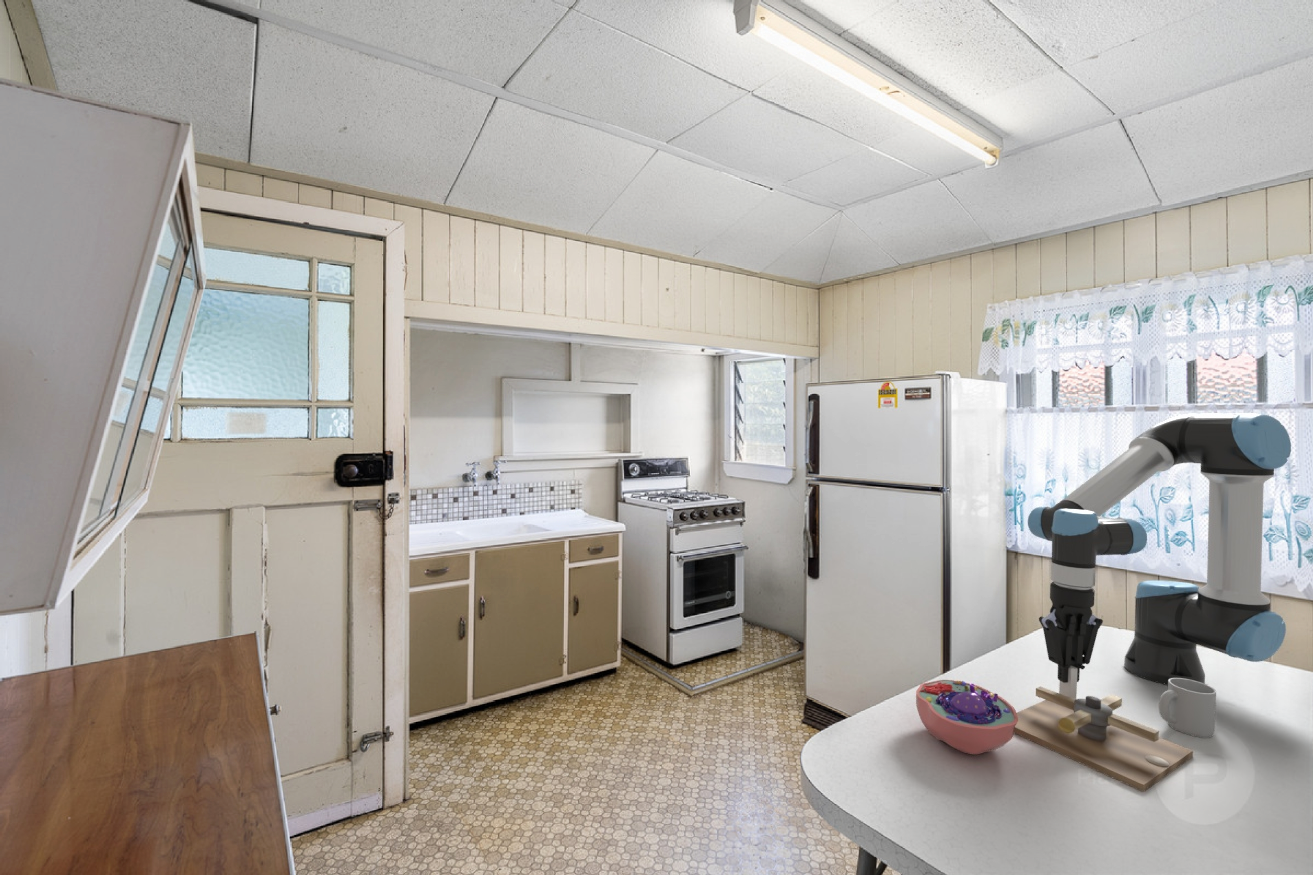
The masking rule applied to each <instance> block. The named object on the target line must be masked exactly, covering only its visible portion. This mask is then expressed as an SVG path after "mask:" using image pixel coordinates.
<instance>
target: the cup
mask: <svg viewBox="0 0 1313 875" xmlns="http://www.w3.org/2000/svg"><path fill="white" fill-rule="evenodd" d="M1158 700H1159V701H1158V711H1159V715H1160V717H1161V718H1162V720H1164V721H1165V722H1166V723H1167V724H1168V725H1169V726H1170V728H1172V729H1174V730H1175V731H1177V732H1180V733H1182V734H1186V735H1188V736H1192V737H1195V738H1203V739H1205V738H1206V739H1207V738H1211V737H1213V736H1214V735H1215V728H1216V726H1215V724H1216V706H1217V705H1216V704H1217V691H1216V689H1215V688H1214V687H1211V686H1210V685H1208V684H1206V683H1205V684H1203V683H1200V682H1197V681H1193V680H1189V679H1183V678H1171V679H1169V680H1168V685H1167V690H1165V691H1164V692H1163V693H1162V694H1161V695H1160V697H1159V699H1158Z"/></svg>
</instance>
